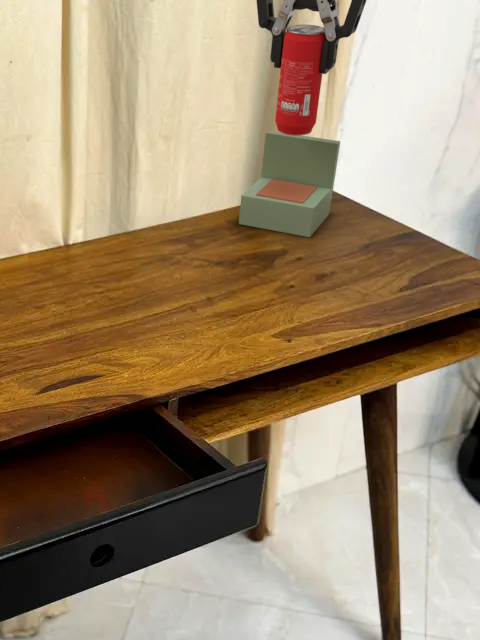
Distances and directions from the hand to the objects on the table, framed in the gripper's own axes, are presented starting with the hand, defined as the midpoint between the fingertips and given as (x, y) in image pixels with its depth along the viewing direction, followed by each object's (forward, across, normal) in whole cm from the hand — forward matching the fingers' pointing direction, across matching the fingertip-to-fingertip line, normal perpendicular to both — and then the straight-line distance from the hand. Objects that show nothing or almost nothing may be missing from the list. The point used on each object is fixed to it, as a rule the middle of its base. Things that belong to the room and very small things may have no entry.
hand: (301, 68), depth 122 cm
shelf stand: (+20, 0, +1) cm, 20 cm away
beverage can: (+8, 0, 0) cm, 8 cm away
